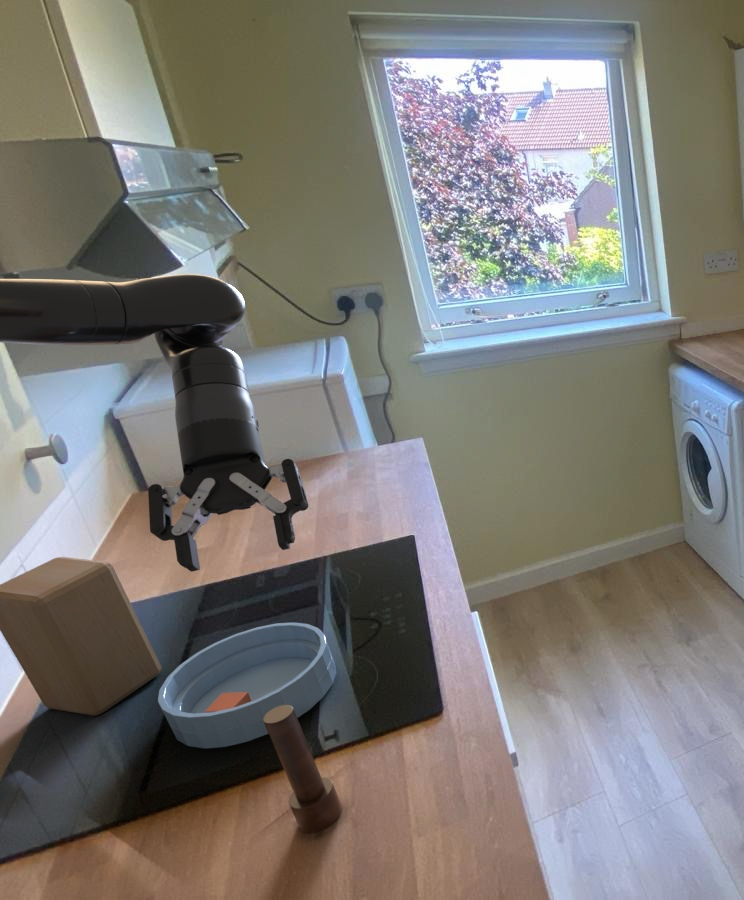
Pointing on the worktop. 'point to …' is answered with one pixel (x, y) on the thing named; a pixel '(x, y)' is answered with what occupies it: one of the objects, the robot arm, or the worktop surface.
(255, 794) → the worktop surface
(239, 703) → the block
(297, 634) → the bowl
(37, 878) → the worktop surface
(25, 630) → the wooden block
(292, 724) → the pestle
